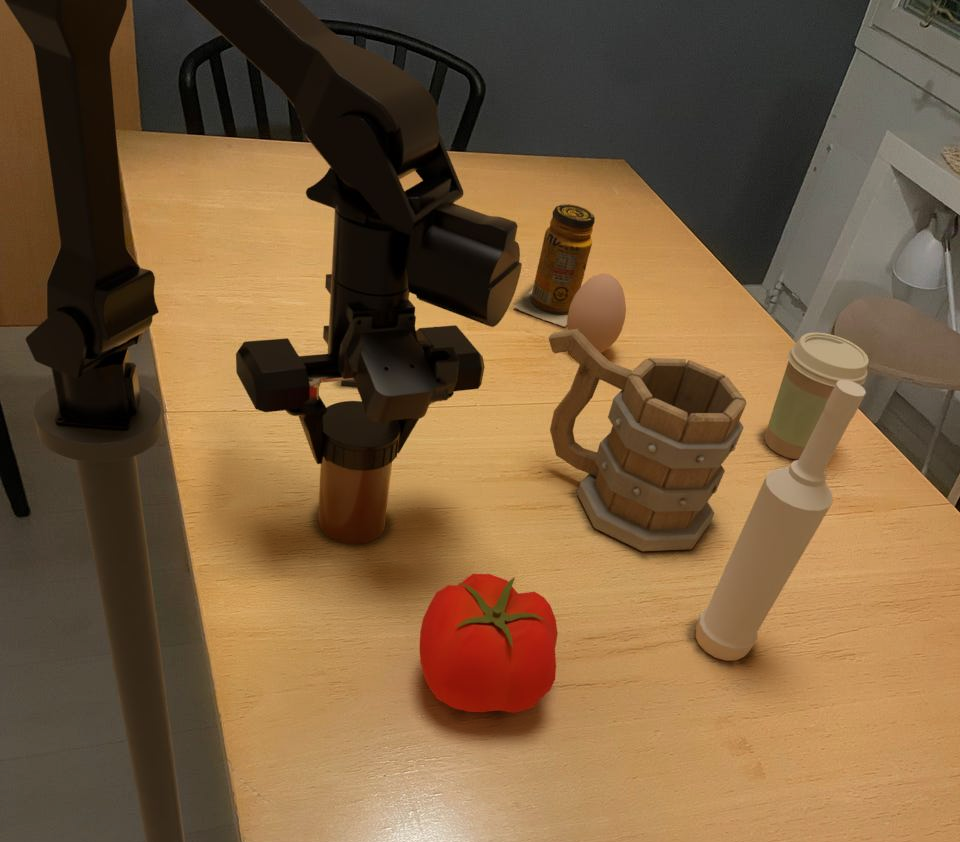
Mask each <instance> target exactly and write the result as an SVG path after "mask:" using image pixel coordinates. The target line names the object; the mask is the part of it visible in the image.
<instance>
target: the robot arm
mask: <svg viewBox="0 0 960 842" xmlns="http://www.w3.org/2000/svg"><path fill="white" fill-rule="evenodd" d="M184 1H185V2H186V3H187V4H188V5H189V6H190V7H191V8H192V9H193V10H194V11H195V12H196V13H197V14H199V15H200V16H201V17H202V18H203V19H204V20H205V21H206V22H207V23H208V24H210V26H211V27H212V28H214V29H215V30H216V31H217V32H218V33H219V34H220V35H221V36H222V37H223V38H224V39H225V40H226V41H227V42H229V43H230V44H231V45H232V46H233V47H234V48H235V49H236V50H237V51H238V52H239V53H240V54H241V55H242V56H243V57H244V58H246V59H247V60H248V61H249V62H250V63H251V64H252V65H253V66H254V67H255V68H256V69H258V71H260V72H261V73H262V74H263V75H264V76H265V77H266V78H267V79H268V80H269V81H270V82H271V83H273V84H274V85H275V86H276V87H277V88H278V89H279V90H280V91H281V92H282V94H283V95H284V96H285V97H286V99H287V100H288V101H289V103H291V105H292V106H293V108H294V109H295V112H296V115H297V117H298V120H299V122H300V125H301V127H302V129H303V132H304V135H305V137H306V139H307V140H308V141H309V143H310V144H311V145H312V146H313V148H314V149H315V150H316V151H317V152H318V154H319V155H320V156H321V157H322V159H323V160H324V161H325V162H326V164H327V165H328V166H329V168H328V170H327V172H326V173H325V174H324V176H323V177H322V178H321V179H320V180H318V181H316V183H314V184H313V185H311V186H309V187H307V188H306V190H305V196H306V198H307V199H308V200H310V201H313V202H316V203H318V204H321V205H323V206H326V207H329V208H330V209H331V208H332V209H333V210H334V219H333V236H332V237H333V239H332V258H331V259H332V261H331V273H326V274H325V285H324V286H325V289H326V290H327V292H328V294H329V295H330V296H329V297H330V298H329V317H328V318H329V319H328V325H323V330H322V331H323V332H322V338H323V340H324V341H325V343H326V345H327V353H321V354H310V355H309V354H307V355H299V354H298V352H297V350H296V349H295V347H294V345H293V344H292V343H291V341H290V339H289V338H287V337H286V338H285V337H284V338H275V339H261V340H249V341H246V340H245V341H243V343H241V345H240V347H239V349H238V350H237V351H236V353H235V369H236V370H235V371H236V375H237V377H238V378H239V381H240V382H241V384H242V386H243V389H244V390H245V391H246V395H248V398H249V399H250V401H251V403H252V405H253V407H254V409H255V410H257V411H259V412H263V413H273V412H282V411H285V412H286V413H287V414H288V415H290V416H292V417H298V419H299V421H300V424H301V427H302V429H303V432H304V435H305V439H306V440H307V443H308V446H309V449H310V452H311V454H312V457H313V459H314V461H315V463H316V464H317V465H321V464H322V461H323V453H324V440H323V415H324V414H325V413H326V412H327V408H326V407H327V406H326V405H325V403H324V401H323V400H322V398H321V397H320V386H321V384H323V383H333V382H340V381H343V380H353V379H354V381H355V384H356V387H355V388H356V389H357V392H358V395H359V397H360V401H362V402H363V405H364V411H365V413H366V415H367V417H368V418H369V419H370V420H371V421H373V422H376V423H388V422H390V421H392V420H398V421H399V423H400V427H401V430H400V435H401V438H400V447H399V452H398V453H397V454H400V452H401V451H402V449H403V447H404V446H405V444H406V442H407V441H408V439H409V437H410V435H411V433H412V432H413V430H414V429H415V427H416V425H417V423H418V422H419V419H422V418H424V417H425V416H426V414H427V412H428V409H429V408H430V405H432V404H435V403H438V402H444V401H448V400H449V399H450V398H452V397H453V395H454V393H455V392H461V391H462V392H463V391H470V390H479V389H480V387H481V386H482V384H483V377H484V373H485V361H484V356H483V355H482V354H481V353H480V352H479V350H478V349H477V348H476V347H475V346H474V345H473V343H472V342H471V341H470V339H468V337H467V336H466V335H465V334H464V332H463V331H462V330H461V329H460V328H459V326H457V325H443V326H430V327H419V328H418V329H416V321H417V320H416V319H417V317H416V306H415V305H414V304H413V303H412V302H411V300H410V294H412V295H415V296H416V298H417V299H418V301H421V302H424V303H426V304H429V305H431V306H435V307H437V308H440V309H443V310H445V311H448V312H450V313H453V314H456V315H458V316H461V317H463V318H467V319H469V320H472V321H475V322H477V323H480V324H482V325H484V326H488V327H491V328H494V327H496V326H497V325H499V323H501V321H502V320H503V318H504V317H505V315H506V313H507V312H508V310H509V307H510V305H511V303H512V301H513V298H514V296H515V294H516V290H517V287H518V285H519V280H520V276H521V272H522V267H523V266H522V265H523V264H522V262H521V261H520V258H521V251H520V250H521V249H520V244H519V242H518V241H516V237H517V232H518V227H519V226H518V224H517V222H516V221H514V220H511V219H509V218H505V217H502V216H495V215H489V214H485V213H482V212H479V211H476V210H473V209H471V208H468V207H465V206H463V205H459V204H458V203H455V202H457V201H459V200H460V199H462V198H463V196H464V189H463V187H462V183H461V182H460V179H459V177H458V175H457V172H456V169H455V167H454V165H453V163H452V160H451V158H450V155H449V152H448V150H447V148H446V145H445V143H444V141H443V138H442V135H441V133H440V130H441V126H440V120H439V115H438V112H439V106H438V105H437V103H436V101H435V99H434V97H433V95H432V94H431V93H430V91H429V90H428V89H427V87H426V86H425V85H424V84H422V82H420V81H419V80H417V79H416V78H414V77H413V76H412V75H410V74H409V73H407V72H405V71H404V70H403V69H401V68H400V67H398V66H397V65H395V64H394V63H392V62H391V61H390V60H388V59H386V58H385V57H383V56H382V55H380V54H378V53H375V52H372V51H370V50H368V49H365V48H363V47H362V46H361V47H360V46H358V45H357V44H354V43H351V42H349V41H347V40H345V39H344V38H342V37H341V36H340V35H338V34H336V33H335V32H334V31H332V30H331V29H330V28H329V27H328V26H327V25H326V24H325V23H324V22H323V21H322V20H320V18H318V16H316V15H315V14H314V13H313V12H312V11H311V10H310V9H309V8H308V7H307V6H305V5H304V3H303V2H301V0H184ZM4 2H5V4H6V5H7V7H8V8H9V10H10V11H11V14H12V15H13V16H14V18H15V19H16V21H17V22H18V24H19V25H20V27H21V28H22V30H23V32H24V33H25V35H26V36H27V37H28V39H29V41H30V42H31V44H32V47H33V51H34V56H35V63H36V71H37V79H38V86H39V93H40V100H41V101H40V102H41V107H42V108H41V109H42V115H43V123H44V129H45V130H44V131H45V138H46V145H47V146H46V147H47V152H48V153H47V154H48V159H49V167H50V174H51V182H52V189H53V196H54V204H55V212H56V218H57V226H58V233H59V249H58V251H57V254H56V257H55V259H54V262H53V264H52V266H51V270H50V271H49V275H48V277H47V280H46V315H47V316H46V317H47V318H46V319H45V320H43V321H42V322H41V323H40V324H39V325H38V326H37V327H36V328H35V329H34V330H33V331H31V332H30V333H29V334H28V335H27V336H26V337H25V342H26V344H27V346H28V349H29V351H30V353H31V355H32V357H33V360H34V361H35V362H36V363H39V364H41V365H43V366H46V367H48V368H50V369H51V374H52V378H53V385H54V387H55V390H56V395H57V400H58V405H59V410H58V413H57V415H56V418H55V423H56V425H58V426H65V427H78V428H91V429H103V430H116V431H127V430H129V428H130V425H131V421H132V418H133V416H135V415H136V414H137V411H138V408H139V404H140V391H139V386H140V383H139V375H138V366H137V364H136V363H135V362H131V359H130V352H129V348H131V347H133V346H134V345H138V344H140V343H141V341H142V338H143V334H144V332H145V331H147V330H148V329H149V328H151V325H152V323H153V317H154V316H155V315H158V314H159V311H160V310H159V308H158V305H157V302H156V298H155V283H156V277H155V274H154V272H153V270H150V269H147V268H143V267H141V266H140V264H138V262H137V260H136V259H135V257H133V255H132V254H131V252H130V251H129V249H128V248H127V245H126V237H125V224H124V212H123V201H122V199H123V198H122V190H121V189H122V188H121V177H120V176H121V175H120V165H119V154H118V141H117V131H116V129H117V128H116V120H115V119H116V117H115V106H114V93H113V82H112V81H113V80H112V71H111V50H112V47H113V44H114V42H115V39H116V36H117V34H118V31H119V29H120V26H121V24H122V20H123V18H124V15H125V13H126V10H127V6H128V0H4ZM414 172H415V173H416V174H417V175H418V177H419V178H420V179H421V181H419V182H418V183H416V184H415V185H413V186H410V187H409V188H407V189H406V190H405V189H404V187H403V185H402V182H401V179H403V178H405V177H407V176H408V175H410V174H413V173H414Z"/></svg>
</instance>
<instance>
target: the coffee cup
mask: <svg viewBox="0 0 960 842" xmlns="http://www.w3.org/2000/svg"><path fill="white" fill-rule="evenodd" d="M787 359H788V361H787V364H786V368H785V370H784V373H783V377H782V380H781V383H780V386H779V388H778V389H779V390H778V393H777V396H776V398H775V401H774V405H773V408H772V412H771V415H770V418H769V421H768V424H767V427H766V431H765V434H764V443H765V445H767V446H768V448H769V449H771V450H772V451H773V452H774V453H776V454H777V455H779V456H782V457H785V458H788V459H791V460H799V458H800V456H801V454H802V452H803V450H804V448H805V446H806V444H807V442H808V440H809V438H810V436H811V435H812V433H813V431H814V429H815V427H816V425H817V423H818V421H819V419H820V417H821V415H822V413H823V411H824V409H825V405H826V403H827V401H828V399H829V397H830V395H831V393H832V391H833V389H834V387H835V385H836V383H837V382H838V381H839V380H848V381H852V382H855V383H857V384H859V385H860V386H862V385H863V384H865V382H866V379H867V376H868V365H869V357H868V355H867V353H866V352H865V351H864V350H863V349H862V348H861V347H859V346H858V345H856V344H855V343H853V342H852V341H850V340H848V339H845V338H843V337H841V336H838V335H834V334H830V333H825V332H808V333H805V334H803V335H802V336H801V337H800V338H799V339H798V340H797V341H796V342H795V343H794V344H793V345H792V346H791V348H790V349H789V351H788V352H787Z"/></svg>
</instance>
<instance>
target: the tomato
mask: <svg viewBox="0 0 960 842" xmlns="http://www.w3.org/2000/svg"><path fill="white" fill-rule="evenodd" d="M514 582H515V576H514V577H512V578H511V579H510V580H507V579H505V578H502V577H499V576H496V575H494V574H491V573H472V574H470V575H468V576H467V577H466V578H465V579H463V580H462V581H461V582H459V581H458V584H457V585H452V584H447V585H446V586H444V587H442V588H441V589H439V590H437V591H436V592H435V593H434V595H433V597H432V599H431V601H430V602H429V604H428V607H427V609H426V611H425V612H424V615H423V617H422V622H421V626H420V631H419V660H420V666H421V670H422V674H423V678H424V680H425V682H426V685H427V686H428V688H429V689H430V691H431V692H432V694H433V695H434V697H435V699H436V700H439V701H440V702H442V703H444V704H446V705H447V706H449V707H451V708H452V709H455V710H460V711H465V712H468V713H488V712H494V711H502V712H507V713H518V712H519V713H520V712H522V711H526V710H529V709H532V708H533V707H534V706H535V705H536V704H537V703H538V702H539V701H541V700H542V699H543V697H545V696H546V695H547V694H548V693H549V692H550V691H551V689H552V687H553V685H554V683H555V681H556V674H557V673H556V672H557V660H556V647H557V640H558V634H559V633H558V626H557V619H556V617H555V614H554V611H553V608H552V605H551V604H550V603H549V602H548V600H547V599H546V598H545V597H544V596H543V595H541V594H539V593H538V592H536V591H528V592H519V593H518V592H517V590H516V589H515V588H514V587H513V584H514Z"/></svg>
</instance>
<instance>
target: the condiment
mask: <svg viewBox="0 0 960 842" xmlns="http://www.w3.org/2000/svg"><path fill="white" fill-rule="evenodd" d="M595 218H596V217H595V215H594V214H593V213H592V212H591V211H590V210H589V209H587V208H585V207H582V206H579V205H576V204H575V205H574V204H572V203H571V204H568V203H567V204H565V203H563V204H560V205H556V206H555V208H554V209H553V210H552V217H551V219H550V222H549V227H547V228H546V229H545V233H544V236H543V241H542V246H541V251H540V256H539V260H538V263H537V269H536V273H535V278H534V282H533V285H532V288H531V289H530V290H529V291H528V292H527V293H526V294H525V295H524V296H522V297H521V299H520V300H518V302H517V303H515V304H514V305H513V306H512V308H514V309H517V310H519V311H520V312H523V313H525V314H528V315H531V316H532V317H535V318H538V319H541V320H542V321H547V322H550V323H553V324H555V325H558V326H561V327H564V328H566V326H567V317H568V312H569V309H570V305H571V302H572V300H573V298H574V296H575V294H576V293H577V291H578V290H579V289H580V287H581V286H582V285H583V281H584V278H585V272H586V269H587V264H588V260H589V256H590V253H591V249H592V246H593V239H592V237H591V236H592V234H593V232H594V230H593V229H594V224H595V223H596V222H595V221H596V219H595Z"/></svg>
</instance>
